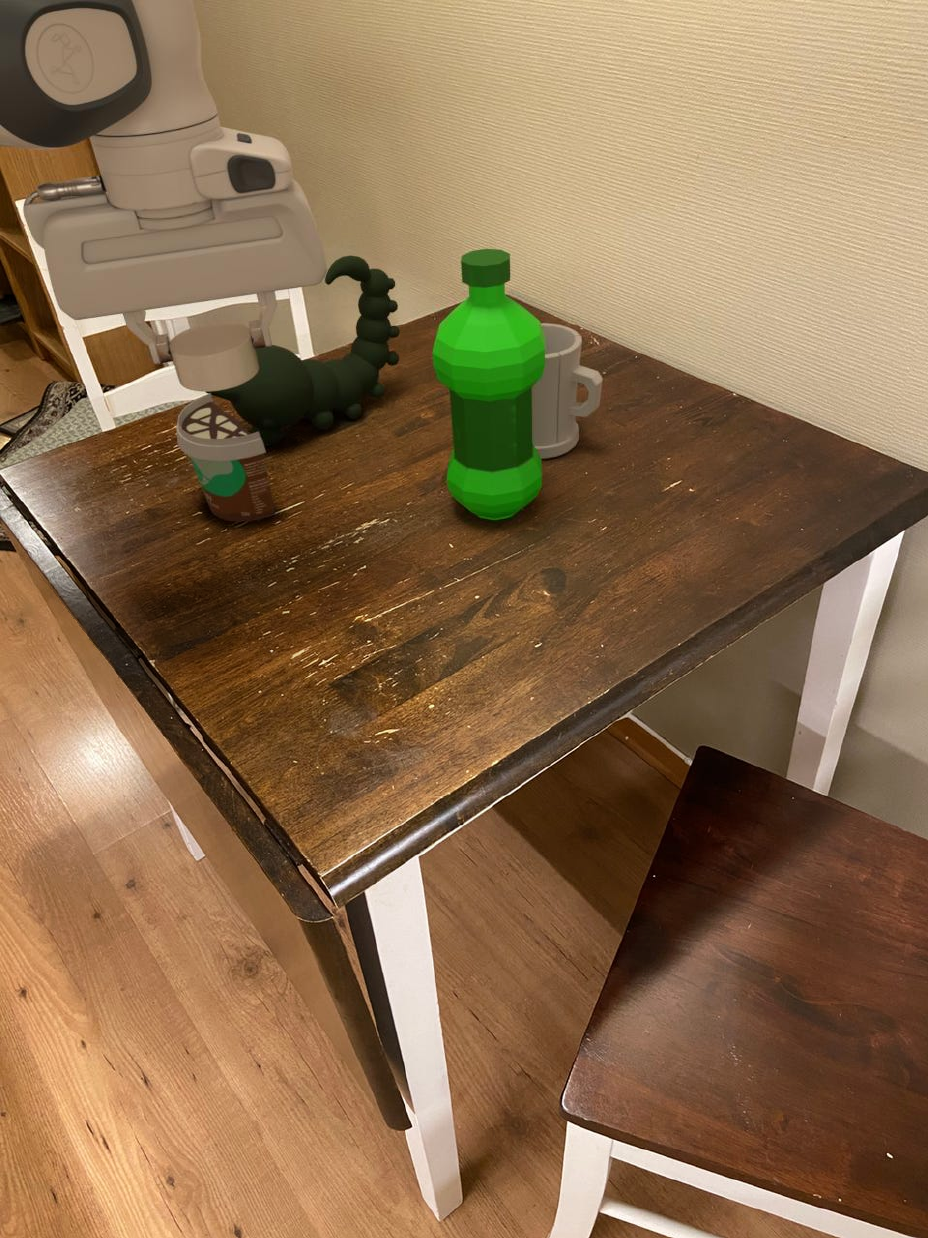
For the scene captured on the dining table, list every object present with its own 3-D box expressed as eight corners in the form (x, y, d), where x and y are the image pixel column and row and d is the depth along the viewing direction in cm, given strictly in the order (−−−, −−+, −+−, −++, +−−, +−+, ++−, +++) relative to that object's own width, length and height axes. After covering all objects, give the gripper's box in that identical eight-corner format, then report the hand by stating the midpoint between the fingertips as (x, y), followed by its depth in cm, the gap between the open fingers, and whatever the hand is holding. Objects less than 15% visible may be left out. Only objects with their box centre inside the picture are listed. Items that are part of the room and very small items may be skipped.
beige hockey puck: (178, 397, 70) (167, 361, 68) (179, 363, 75) (169, 328, 73) (261, 383, 71) (253, 348, 69) (257, 351, 76) (249, 316, 74)
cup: (583, 416, 104) (586, 316, 96) (602, 455, 97) (607, 351, 89) (495, 426, 103) (491, 327, 96) (508, 466, 96) (504, 362, 89)
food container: (179, 493, 96) (152, 410, 90) (230, 473, 99) (208, 391, 92) (227, 543, 89) (202, 455, 82) (282, 519, 91) (261, 433, 85)
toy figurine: (372, 391, 116) (198, 445, 103) (363, 239, 105) (166, 278, 92) (416, 414, 110) (237, 474, 97) (411, 256, 99) (208, 301, 86)
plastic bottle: (435, 490, 94) (412, 247, 77) (530, 472, 95) (527, 231, 79) (458, 542, 86) (438, 286, 70) (560, 522, 88) (564, 267, 72)
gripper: (5, 198, 59) (78, 390, 68) (310, 159, 61) (341, 348, 70) (20, 174, 63) (86, 356, 73) (302, 139, 66) (333, 319, 75)
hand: (214, 352), depth 71 cm, fingers closed on beige hockey puck, 6 cm apart
